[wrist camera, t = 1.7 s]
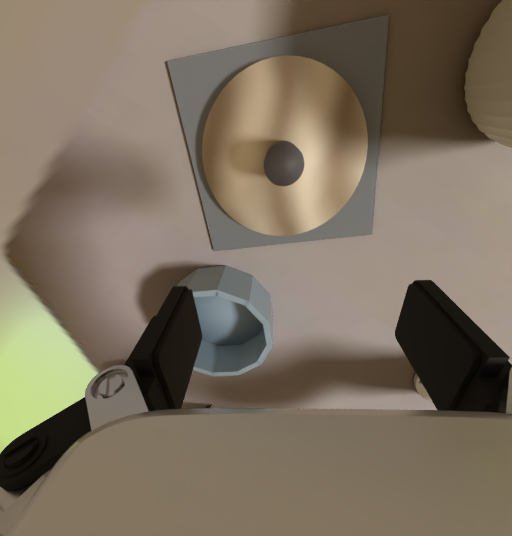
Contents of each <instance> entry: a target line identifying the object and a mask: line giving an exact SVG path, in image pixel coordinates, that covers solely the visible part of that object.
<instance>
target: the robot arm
mask: <svg viewBox="0 0 512 536" xmlns="http://www.w3.org/2000/svg"><path fill="white" fill-rule="evenodd" d="M395 336H396V339H397V341H398V343H399V345H400V346H401V348H402V350H403V351H404V353H405V355H406V357H407V358H408V360H409V362H410V363H411V365H412V367H413V369H414V370H415V372H416V373H415V376H414V385H415V388H416V389H417V391H418V393H419V394H420V395H421V396H422V397H423V398H425V399H426V400H429V401H431V402H433V403H434V405H435V407H436V408H437V410H376V409H271V408H203V409H181V407H182V403H183V400H184V397H185V393H186V390H187V387H188V384H189V380H190V377H191V374H192V371H193V367H194V364H195V361H196V358H197V354H198V351H199V348H200V345H201V341H202V331H201V327H200V322H199V318H198V314H197V309H196V305H195V300H194V296H193V292H192V290H191V289H188V287H187V286H174V287H173V288H172V289H171V291H170V293H169V295H168V296H167V298H166V300H165V302H164V303H163V305H162V307H161V309H160V310H159V312H158V314H157V315H156V316H154V317H153V318H152V319H151V321H150V323H149V324H148V326H147V328H146V329H145V331H144V333H143V334H142V336H141V338H140V340H139V341H138V343H137V345H136V346H135V348H134V350H133V351H132V353H131V355H130V356H129V358H128V360H127V361H126V363H125V365H116V366H112V367H109V368H107V369H105V370H103V371H102V372H100V373H98V374H97V375H96V376H95V377H94V378H93V379H92V380H91V381H90V383H89V384H88V386H87V388H86V392H85V397H84V398H83V399H81V400H80V401H78V402H76V403H74V404H72V405H71V406H69V407H68V408H66V409H64V410H63V411H61V412H59V413H57V414H56V415H54V416H52V417H51V418H49V419H47V420H46V421H44V422H42V423H40V424H39V425H37V426H36V427H34V428H32V429H30V430H29V431H27V432H25V433H24V434H22V435H21V436H19V437H18V438H16V439H15V440H13V441H12V442H11V443H10V444H9V445H8V446H7V447H6V448H5V449H4V450H3V451H2V452H1V454H0V536H512V365H511V364H510V363H509V362H508V360H509V358H510V357H509V356H508V355H507V354H506V353H505V352H504V351H503V350H502V349H501V348H500V347H499V346H498V345H497V344H496V343H495V342H494V341H492V340H491V339H490V338H489V337H488V336H487V335H486V334H485V333H484V332H483V331H482V330H481V329H480V328H479V327H478V326H477V325H476V324H475V323H474V322H473V321H472V320H471V319H470V318H469V317H468V316H467V315H466V314H465V313H464V312H463V311H462V310H461V309H460V308H459V307H458V306H457V305H456V304H455V303H454V302H453V301H452V300H451V299H450V298H449V297H448V296H447V295H446V294H445V293H444V292H443V291H442V290H441V289H440V288H439V287H438V286H437V285H436V284H435V283H434V282H433V281H431V280H416V281H414V282H413V283H412V284H410V285H409V286H408V289H407V293H406V296H405V299H404V303H403V306H402V310H401V313H400V316H399V320H398V323H397V327H396V330H395Z"/></svg>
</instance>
